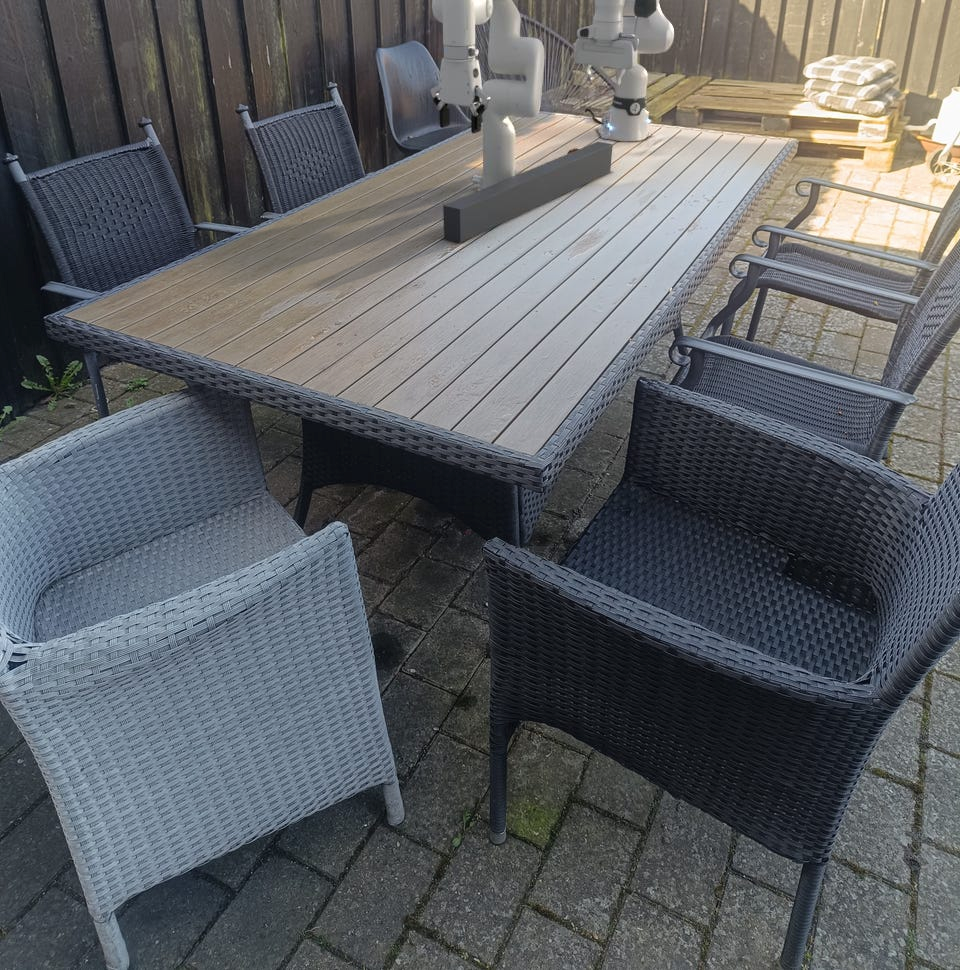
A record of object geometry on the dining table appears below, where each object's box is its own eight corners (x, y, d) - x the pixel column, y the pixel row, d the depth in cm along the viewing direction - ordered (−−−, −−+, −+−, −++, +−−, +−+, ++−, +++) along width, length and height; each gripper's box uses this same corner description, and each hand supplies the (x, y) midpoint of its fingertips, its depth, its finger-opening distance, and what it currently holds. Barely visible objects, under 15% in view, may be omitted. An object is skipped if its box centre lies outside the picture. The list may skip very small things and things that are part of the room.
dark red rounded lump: (581, 144, 285) (589, 151, 279) (580, 157, 288) (588, 164, 281) (565, 146, 284) (573, 152, 278) (565, 159, 287) (572, 165, 280)
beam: (460, 242, 221) (460, 209, 216) (444, 238, 223) (443, 205, 218) (610, 172, 274) (612, 144, 269) (595, 169, 277) (597, 141, 272)
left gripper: (498, 54, 197) (497, 131, 207) (440, 47, 205) (442, 121, 215) (479, 58, 192) (479, 137, 202) (420, 51, 200) (423, 127, 210)
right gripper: (643, 33, 245) (638, 84, 254) (583, 27, 255) (579, 77, 263) (633, 36, 241) (629, 88, 249) (572, 29, 251) (569, 80, 259)
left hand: (460, 129), depth 209 cm, fingers open, 9 cm apart
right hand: (603, 82), depth 256 cm, fingers open, 8 cm apart
